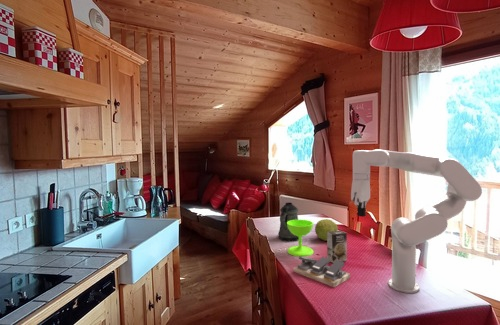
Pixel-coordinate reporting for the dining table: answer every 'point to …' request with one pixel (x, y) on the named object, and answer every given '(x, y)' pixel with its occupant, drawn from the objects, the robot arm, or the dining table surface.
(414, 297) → the dining table surface
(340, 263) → the rocker near
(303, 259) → the plate
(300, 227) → the wineglass
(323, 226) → the fruit
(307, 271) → the switch board
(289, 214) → the beer stein
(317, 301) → the dining table surface
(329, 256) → the coffee box
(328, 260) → the rocker middle
